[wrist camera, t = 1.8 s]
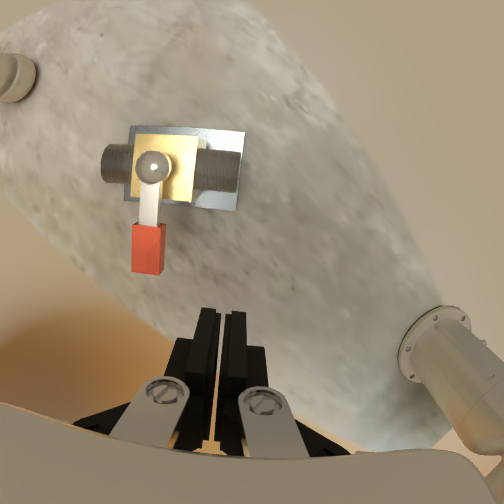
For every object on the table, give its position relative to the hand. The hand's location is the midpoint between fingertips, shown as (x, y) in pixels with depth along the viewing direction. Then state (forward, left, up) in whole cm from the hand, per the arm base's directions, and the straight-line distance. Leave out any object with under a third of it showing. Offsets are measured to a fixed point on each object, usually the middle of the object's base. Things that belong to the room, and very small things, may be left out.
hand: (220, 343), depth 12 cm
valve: (+6, -6, -23) cm, 24 cm away
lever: (+6, -3, -13) cm, 14 cm away
